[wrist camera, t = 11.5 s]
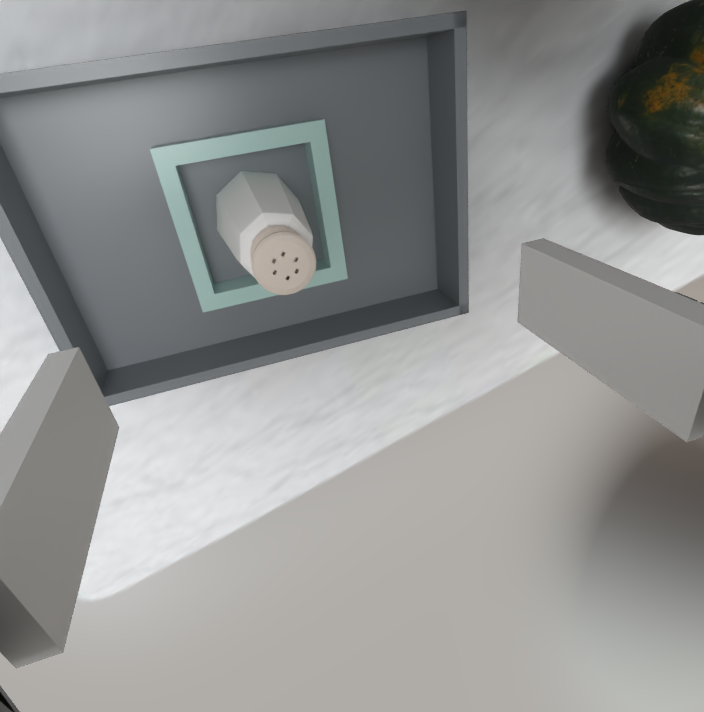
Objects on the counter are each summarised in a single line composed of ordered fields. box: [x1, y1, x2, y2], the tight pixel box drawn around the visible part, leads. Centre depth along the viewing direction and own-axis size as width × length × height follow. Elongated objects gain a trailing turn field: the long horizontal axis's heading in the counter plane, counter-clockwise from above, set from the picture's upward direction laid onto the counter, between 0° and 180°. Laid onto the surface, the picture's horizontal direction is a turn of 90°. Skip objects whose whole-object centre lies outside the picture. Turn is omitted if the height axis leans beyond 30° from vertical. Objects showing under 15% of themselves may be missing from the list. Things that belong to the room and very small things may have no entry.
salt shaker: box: [216, 171, 316, 295], centre depth 25 cm, size 5×5×11 cm
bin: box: [0, 11, 469, 406], centre depth 28 cm, size 17×25×4 cm
